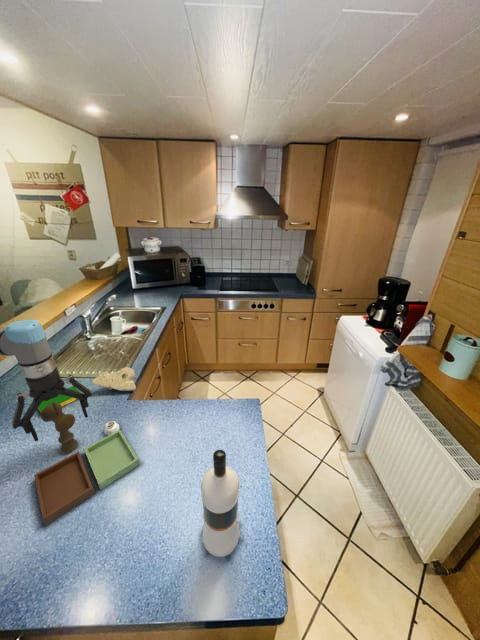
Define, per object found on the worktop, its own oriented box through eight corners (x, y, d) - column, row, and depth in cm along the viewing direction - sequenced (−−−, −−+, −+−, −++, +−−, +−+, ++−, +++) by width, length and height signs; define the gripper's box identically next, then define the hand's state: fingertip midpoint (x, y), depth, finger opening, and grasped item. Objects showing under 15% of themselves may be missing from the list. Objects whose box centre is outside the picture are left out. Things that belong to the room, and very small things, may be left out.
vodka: (208, 566, 57) (203, 484, 45) (198, 523, 65) (191, 442, 53) (245, 548, 61) (249, 466, 48) (231, 509, 69) (232, 429, 56)
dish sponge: (81, 397, 107) (80, 392, 106) (43, 416, 97) (41, 411, 96) (74, 389, 111) (73, 385, 110) (37, 407, 101) (35, 402, 100)
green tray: (85, 454, 83) (83, 448, 82) (121, 434, 90) (120, 429, 89) (100, 490, 72) (98, 484, 71) (139, 464, 80) (138, 459, 79)
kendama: (71, 435, 89) (55, 390, 81) (86, 447, 85) (71, 402, 76) (52, 447, 85) (33, 401, 76) (68, 461, 80) (49, 414, 72)
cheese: (144, 384, 118) (123, 360, 119) (144, 381, 112) (122, 356, 112) (115, 408, 110) (92, 383, 111) (113, 407, 104) (90, 380, 104)
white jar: (120, 423, 94) (106, 425, 93) (119, 417, 93) (104, 420, 92) (118, 434, 90) (102, 436, 89) (116, 428, 89) (101, 430, 88)
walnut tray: (36, 480, 74) (33, 474, 73) (80, 456, 82) (78, 451, 81) (45, 525, 64) (42, 519, 63) (95, 493, 71) (93, 487, 70)
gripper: (-19, 399, 61) (13, 458, 70) (92, 360, 77) (107, 412, 86) (-19, 384, 66) (11, 441, 75) (85, 351, 82) (100, 401, 91)
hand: (62, 426), depth 80 cm, fingers open, 13 cm apart
